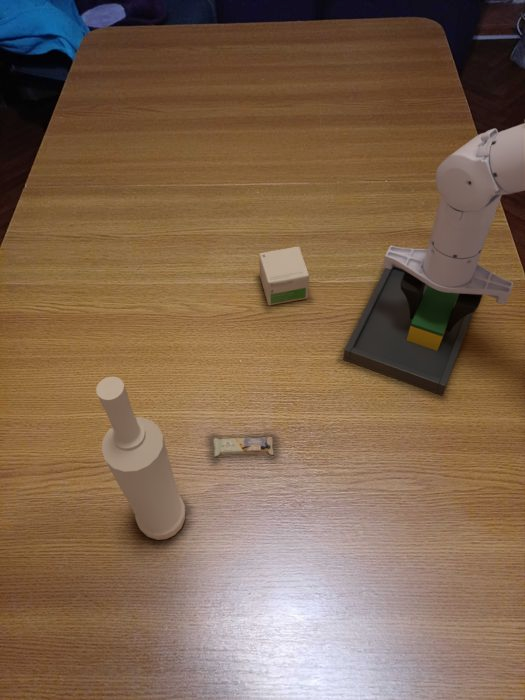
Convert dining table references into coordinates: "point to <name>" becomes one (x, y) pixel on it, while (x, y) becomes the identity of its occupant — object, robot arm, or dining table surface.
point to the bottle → (140, 464)
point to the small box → (284, 275)
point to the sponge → (432, 318)
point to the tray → (401, 339)
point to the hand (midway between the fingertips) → (432, 319)
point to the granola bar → (243, 446)
